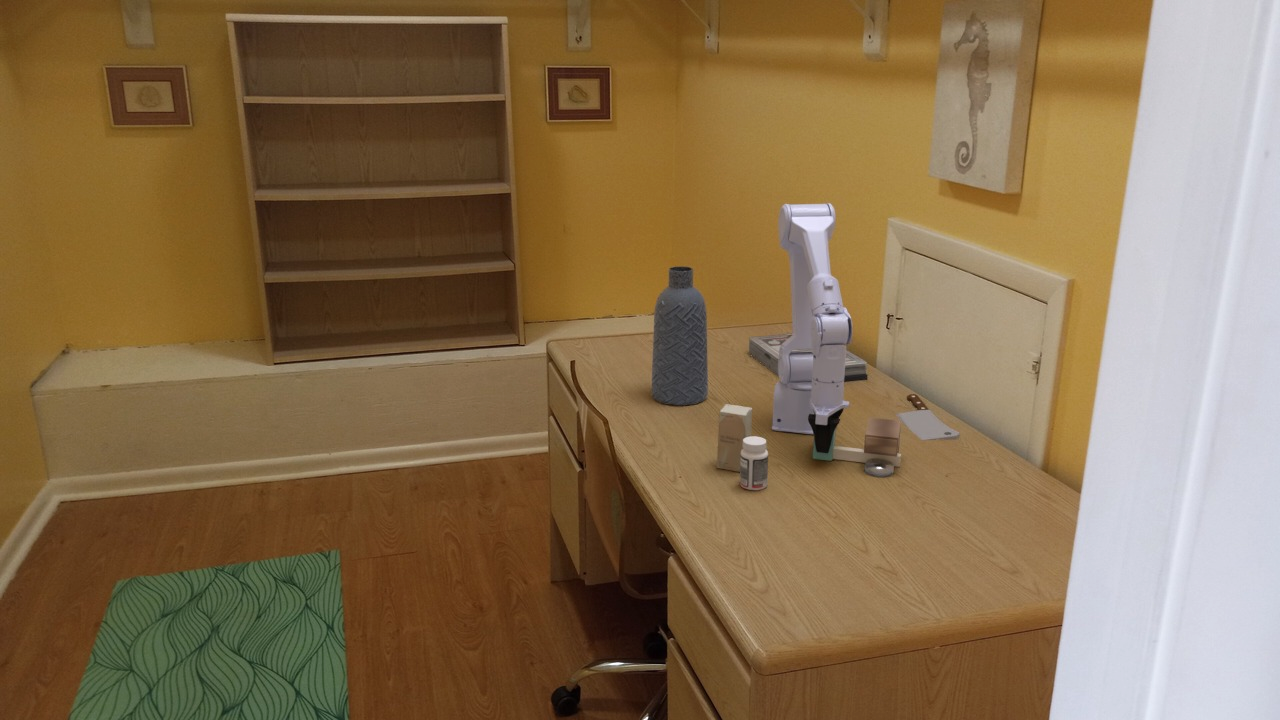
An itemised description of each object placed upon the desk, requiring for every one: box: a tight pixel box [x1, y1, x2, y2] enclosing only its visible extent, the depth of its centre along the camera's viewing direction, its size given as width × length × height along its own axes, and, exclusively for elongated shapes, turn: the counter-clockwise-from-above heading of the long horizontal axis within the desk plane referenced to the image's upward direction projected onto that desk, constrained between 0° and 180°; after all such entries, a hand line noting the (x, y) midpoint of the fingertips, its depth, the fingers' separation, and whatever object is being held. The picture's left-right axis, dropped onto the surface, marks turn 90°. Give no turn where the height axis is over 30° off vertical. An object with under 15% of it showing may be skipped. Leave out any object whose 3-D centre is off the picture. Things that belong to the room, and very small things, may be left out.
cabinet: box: [863, 417, 902, 457], centre depth 181 cm, size 6×9×7 cm, turn 163°
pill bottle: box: [739, 435, 769, 491], centre depth 172 cm, size 5×5×8 cm
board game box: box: [748, 332, 869, 383], centre depth 237 cm, size 18×27×4 cm
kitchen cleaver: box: [895, 393, 961, 441], centre depth 204 cm, size 24×1×10 cm
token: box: [864, 459, 895, 478], centre depth 179 cm, size 5×5×2 cm
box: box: [716, 403, 753, 473], centre depth 179 cm, size 5×4×11 cm
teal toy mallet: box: [812, 428, 902, 468], centre depth 182 cm, size 16×4×6 cm, turn 73°
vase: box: [650, 266, 709, 406], centre depth 212 cm, size 12×12×28 cm
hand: (824, 447), depth 185 cm, fingers closed on teal toy mallet, 3 cm apart
